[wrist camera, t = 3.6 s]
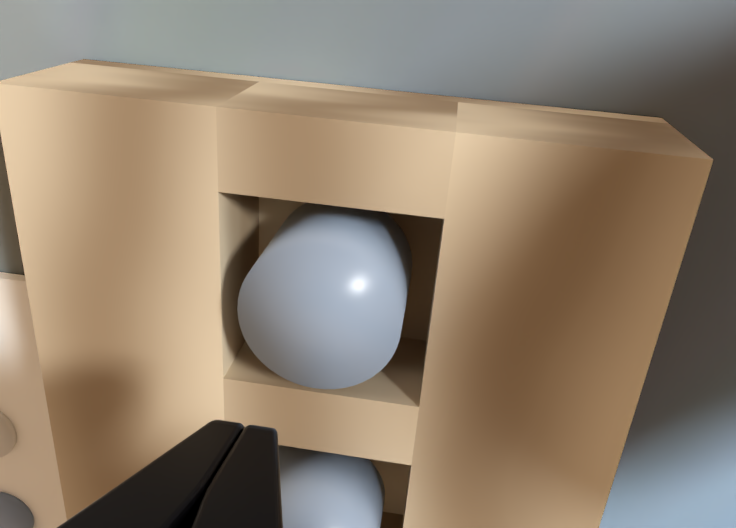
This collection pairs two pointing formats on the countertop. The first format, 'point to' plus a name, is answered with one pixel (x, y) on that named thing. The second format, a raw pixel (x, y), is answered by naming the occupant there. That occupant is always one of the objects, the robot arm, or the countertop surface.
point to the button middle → (329, 490)
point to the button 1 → (328, 296)
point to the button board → (426, 290)
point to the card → (24, 420)
